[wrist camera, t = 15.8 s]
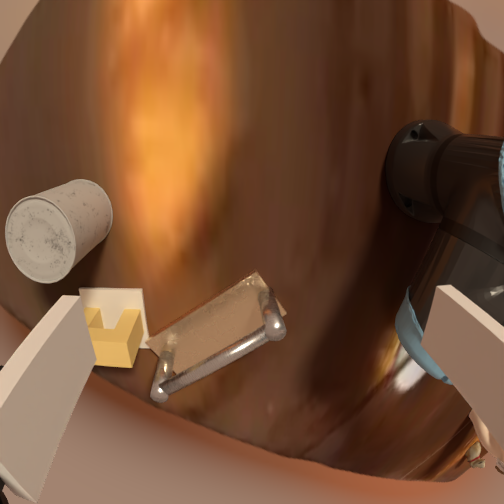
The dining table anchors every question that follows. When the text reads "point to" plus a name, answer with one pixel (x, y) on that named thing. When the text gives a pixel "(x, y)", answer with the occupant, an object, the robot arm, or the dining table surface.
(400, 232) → the dining table surface
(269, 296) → the rail stand
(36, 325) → the robot arm
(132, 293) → the coaster
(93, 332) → the c link
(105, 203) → the grey speckled cylinder
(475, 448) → the chocolate bunny
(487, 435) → the water bottle
